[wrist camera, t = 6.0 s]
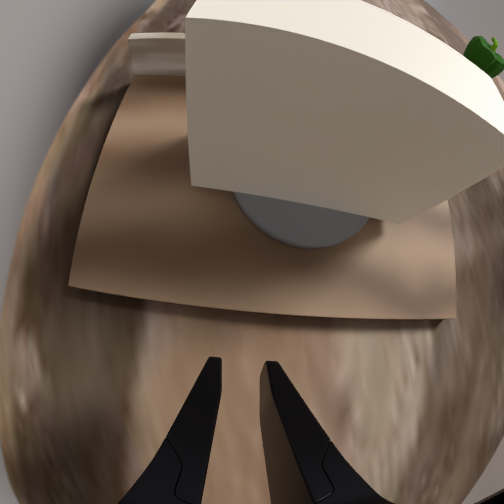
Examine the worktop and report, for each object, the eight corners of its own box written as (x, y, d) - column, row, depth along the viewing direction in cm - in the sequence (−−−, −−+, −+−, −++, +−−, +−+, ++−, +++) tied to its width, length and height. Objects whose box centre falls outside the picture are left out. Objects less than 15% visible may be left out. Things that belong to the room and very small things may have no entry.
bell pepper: (484, 91, 32) (514, 64, 23) (454, 59, 33) (481, 29, 23) (487, 80, 35) (513, 56, 25) (459, 52, 35) (483, 25, 25)
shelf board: (443, 319, 20) (492, 314, 15) (78, 288, 16) (34, 275, 11) (423, 138, 24) (454, 110, 19) (140, 79, 20) (132, 32, 15)
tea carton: (394, 262, 18) (540, 204, 7) (184, 231, 16) (155, 70, 5) (384, 143, 21) (474, 50, 9) (212, 103, 19) (230, -45, 7)
